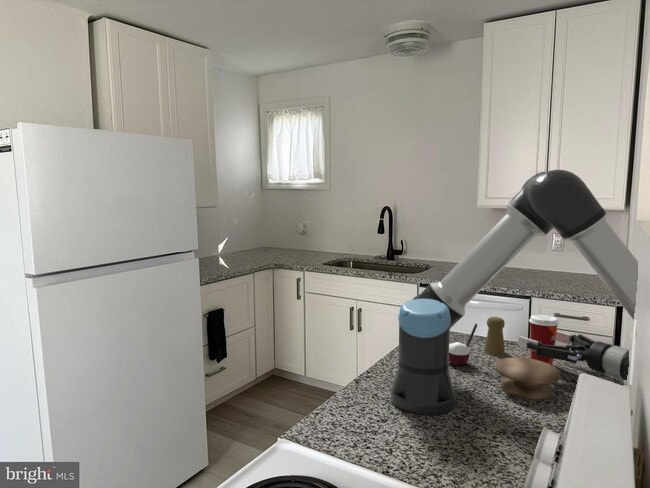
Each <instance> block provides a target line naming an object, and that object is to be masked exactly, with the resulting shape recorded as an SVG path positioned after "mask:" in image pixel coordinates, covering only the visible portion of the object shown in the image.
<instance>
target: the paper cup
mask: <svg viewBox="0 0 650 488" xmlns="http://www.w3.org/2000/svg"><path fill="white" fill-rule="evenodd" d="M528 322H529V331H530V332H529V333H530V335H529V336H530V337H529V339H531V340H535V341H540V342H541V344H547V345H556V342H557V341H556V332H557V331H558V325H559V324H560V323H559V322H558V318H557V317H555V316H552V315H547V314H532V315H531V316H530V317H529V320H528ZM530 359H534V360H538V361H542V362H545V363H548V364H550V365H553V363H554V359H553V358H547V357H542V356H536V355H535V351H533V350H530ZM553 366H554V365H553Z"/></svg>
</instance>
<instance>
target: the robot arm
mask: <svg viewBox="0 0 650 488" xmlns="http://www.w3.org/2000/svg"><path fill="white" fill-rule="evenodd" d="M506 211H507V212H506V214H505V215H503V217H502V218H501V219H500V220H499V221H498V222H497V223H496V224H495V225H494V226H492V228H491V229H490V230H489V231H488V232H487V233H486V234H485V235H484V237H482V239H480V241H478V243H477V244H475V245H474V247H473V248H471V250H470V251H468V253H467V254H466V255H465V256H464V257H463V258H461V260H459V262H458V263H457V264H456V265H455V266H454V267H453V268H451V270H450V271H449V272H448V273H447V274H446V275H445V277H443V278H442V279H441V281H439V282H435V281H433V282H430V283H429V285H428V286H426V287H425V288H424V290H422V291H421V293H419V294H417V295H415V296H414V297H413V298H412V299H411V300H407V301H406V302H404V303H403V304H401V306H400V309H399V313H398V316H397V320H398V325H399V326H398V328H399V329H398V367H397V370H396V374H395V376H394V379H393V382H392V385H391V386H390V387H391V388H390V400H391V402H392V404H393V405H394V406H395V407H397V408H398V409H400V410H403V411H405V412H409V413H412V414H418V415H430V416H432V415H440V414H445V413H448V412H450V411H452V410H453V409H454V408H455V406H456V391H455V389H454V386H453V385H454V384H453V383H452V378H451V376H450V371H449V363H450V362H449V344H450V333H451V332H450V331H451V329H452V328H453V327H454V326H455V325H456V323H458V322H459V321H460V320H461V319H462V318H463V317H464V315H465V314H466V305H467V304H468V303H470V302H471V300H472V299H473V298H474V297H475V296H476V295H477V294H478V293H479V292H480V291H481V290H482V289H483V288H485V287H486V285H487V284H489V282H491V280H493V279H494V278H495V276H496V275H498V274H499V272H501V271H502V270H503V269H504V268H505V267H506V266H507V265H508V264H509V263H510V262H511V261H512V260H513V259H515V257H516V256H517V255H518V254H519V253H520V252H521V251H522V250H523V249H524V248H525V247H526V246H527V245H528V244H529V243H531V241H532V240H534V238H536V237H546V236H547V234H549V233H550V232H551V231H552V230H553V229H554V230H556V232H557V233H558V235H560V236H561V238H562V239H563V240H564V241H569V242H572V244H573V245H574V247H575V248H576V249H577V250H578V251H579V252H580V255H582V257H583V258H584V259H585V260H586V262H587V263H588V264H589V265H590V267H591V268H592V269H593V271H594V272H595V273H596V274H597V276H598V277H599V279H601V281H602V282H603V283H604V285H605V286H606V287H607V288H608V290H609V291H610V292H611V293H612V295H613V296H614V297H615V298H616V300H617V301H618V302H619V303H620V305H621V306H622V307H623V309H624V310H625V311H626V312H627V313H628V315H629V316H630V317H631V318H632V320H633V319H634V313H635V306H636V292H637V281H638V262H639V261H638V260H637V258H636V257H635V256H634V254H632V252H631V251H630V249H629V248H628V247H627V245H626V244H625V243H624V242H623V241H622V239H621V238H620V236H618V234H617V233H616V232H615V231H614V229H613V228H612V227H611V225H610V224H609V223H608V221H607V216H608V213H607V211H606V210H605V208H603V206H602V205H601V204H600V202H599V201H598V199H597V197H595V195H594V194H593V193H592V191H591V189H590V188H589V187H588V186H587V185H586V183H585V182H584V181H583V179H582V178H581V177H579V176H578V175H577V174H575V173H573V172H572V171H570V170H569V171H568V170H564V169H552V170H549V171H548V170H547V171H542V172H539V173H536V174H534V175H532V176H531V177H529V178H528V179H527V180H526V181H525V182H524V184H523V185H522V186H521V189H520V190H519V191H518V193H516V194H515V195H514V197H512V199H510V200H509V201H508V203H507V204H506ZM555 342H559V343H562V344H565V346H564V345H556V344H555V345H547V344H541V342H540V341H535V340H531V339H530V338H527V337H524V336H522V335H521V336H518V345H517V346H519V347H521V348H523V349H527V350H529V351H531V350H533V351H535V355H536V356H542V357H547V358H553V360H559V361H565V362H569V363H572V364H577V361H579V362H585V363H586V364H587V366H588V368H589V369H590V370H592V371H595V372H598V373H601V374H604V375H605V374H606V375H608V376H612V377H614V378H616V379H617V378H618V380H619V381H621V382H622V381H626V380H627V375H628V367H629V350H630V349H628V348H626V347H622V346H618V345H613V344H610V343H605V342H602V341H595V340H594V339H592V338H589V337H587V336H585V335H583V334H580V333H579V334H569V333H565V332H562V331H560V330H557V332H556V341H555Z"/></svg>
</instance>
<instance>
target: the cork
mask: <svg viewBox="0 0 650 488" xmlns="http://www.w3.org/2000/svg"><path fill="white" fill-rule="evenodd" d="M486 325H487V327H488V328H487V329H488V330H487V334H486V339H485V346H484V353H486V354H487V355H491V356H503V355H506V349H505V340H504V330H503V329H504V328H505V325H506V322H505V320H504V319H503V318H502V317H498V316H491V317H488V318H487V320H486Z"/></svg>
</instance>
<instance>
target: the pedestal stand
mask: <svg viewBox="0 0 650 488" xmlns="http://www.w3.org/2000/svg"><path fill="white" fill-rule="evenodd" d="M494 367H495V368H494V369H495V371H496V372H497V374H499V375H500V376H502V377H503V378H502V379H501V381H500V388H501V389H502V391H504V392H505V393H507V394H509V395H511V396H513V397H517V398H520V399H525V400H533V401H534V400H535V401H541V400H547V399H549V398H551V397H553V391H554V389H553V387H552V386H551V385H550V384H554V383H557V382H559V381H560V380H561V375H562V374H561V370H560V369H558V368H557V367H556V366H554V365H550V364H548V363H545V362H542V361H538V360H534V359H531V358H527V357H506V358H501V359H498V360H497V361H496V362H495V366H494Z"/></svg>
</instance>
